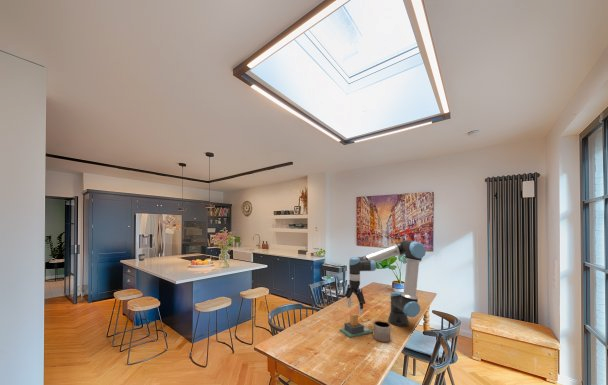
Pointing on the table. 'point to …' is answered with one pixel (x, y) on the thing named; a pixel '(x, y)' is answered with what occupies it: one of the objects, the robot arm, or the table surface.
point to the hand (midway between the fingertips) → (354, 310)
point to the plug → (353, 320)
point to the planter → (382, 331)
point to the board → (355, 330)
